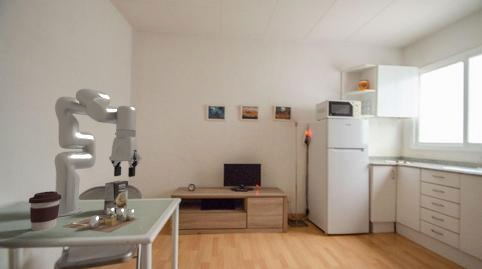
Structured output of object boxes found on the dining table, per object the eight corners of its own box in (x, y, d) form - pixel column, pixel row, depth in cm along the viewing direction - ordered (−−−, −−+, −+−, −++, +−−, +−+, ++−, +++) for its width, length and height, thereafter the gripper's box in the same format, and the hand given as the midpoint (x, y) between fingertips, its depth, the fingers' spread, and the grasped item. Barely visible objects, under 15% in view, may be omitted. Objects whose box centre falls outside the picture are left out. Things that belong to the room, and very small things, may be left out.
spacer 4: (124, 220, 94) (124, 210, 94) (129, 218, 97) (130, 208, 97) (130, 221, 93) (130, 210, 93) (135, 218, 96) (136, 208, 96)
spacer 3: (114, 219, 95) (114, 209, 95) (120, 217, 98) (120, 207, 98) (120, 220, 94) (120, 210, 95) (125, 217, 97) (126, 208, 98)
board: (62, 229, 87) (62, 226, 87) (97, 217, 102) (97, 214, 102) (109, 235, 81) (109, 231, 81) (139, 221, 96) (139, 218, 96)
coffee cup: (65, 226, 90) (67, 191, 91) (39, 235, 80) (41, 196, 81) (48, 224, 92) (50, 189, 93) (20, 233, 83) (22, 194, 84)
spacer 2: (104, 218, 96) (104, 208, 97) (110, 216, 99) (110, 206, 100) (110, 219, 96) (110, 209, 96) (116, 217, 99) (116, 207, 99)
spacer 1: (87, 229, 84) (87, 217, 84) (94, 226, 87) (95, 215, 88) (93, 229, 83) (94, 218, 84) (100, 226, 86) (101, 215, 87)
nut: (100, 224, 89) (101, 219, 89) (111, 220, 93) (111, 215, 94) (109, 225, 87) (109, 220, 88) (119, 221, 92) (119, 216, 93)
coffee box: (114, 216, 103) (115, 183, 104) (103, 215, 104) (104, 182, 105) (127, 211, 112) (128, 180, 113) (117, 210, 113) (118, 180, 114)
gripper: (102, 134, 90) (100, 176, 89) (136, 133, 85) (135, 178, 84) (116, 135, 97) (115, 174, 96) (149, 135, 93) (147, 175, 92)
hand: (124, 175), depth 90 cm, fingers open, 6 cm apart
